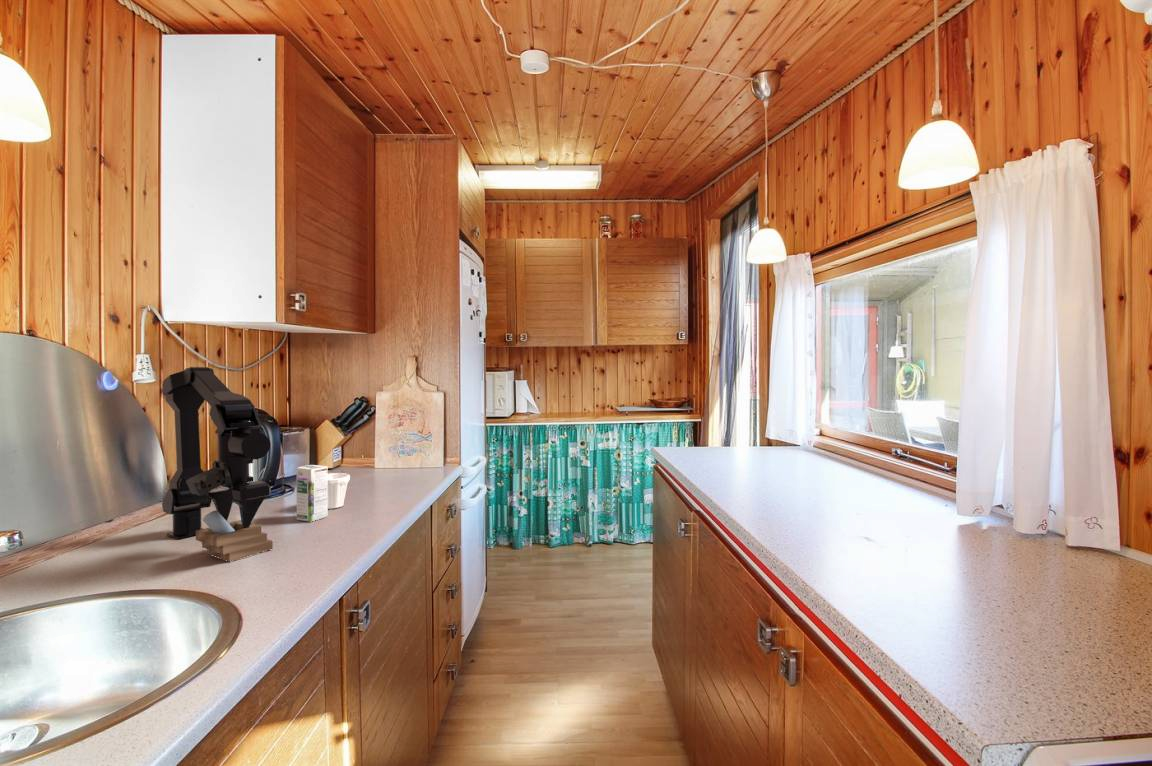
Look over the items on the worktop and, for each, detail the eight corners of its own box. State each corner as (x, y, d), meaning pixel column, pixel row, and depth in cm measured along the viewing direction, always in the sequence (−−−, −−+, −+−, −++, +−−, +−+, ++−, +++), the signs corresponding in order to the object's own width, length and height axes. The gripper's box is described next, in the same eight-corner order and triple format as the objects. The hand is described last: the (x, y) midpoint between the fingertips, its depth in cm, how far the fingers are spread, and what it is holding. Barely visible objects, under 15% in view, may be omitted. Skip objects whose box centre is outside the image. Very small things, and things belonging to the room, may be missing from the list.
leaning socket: (196, 558, 111) (195, 530, 111) (251, 542, 121) (250, 517, 121) (217, 566, 107) (216, 537, 107) (272, 549, 117) (272, 523, 117)
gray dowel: (229, 550, 114) (200, 519, 109) (241, 539, 116) (213, 509, 111) (235, 553, 113) (206, 522, 108) (247, 542, 115) (220, 512, 110)
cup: (340, 511, 148) (340, 480, 148) (306, 511, 148) (306, 479, 148) (356, 502, 158) (355, 473, 158) (323, 502, 158) (323, 472, 158)
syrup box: (295, 520, 140) (294, 467, 139) (314, 514, 145) (313, 463, 145) (310, 522, 138) (310, 468, 137) (329, 516, 143) (328, 465, 143)
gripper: (170, 456, 111) (172, 527, 112) (214, 464, 102) (215, 542, 102) (226, 449, 121) (227, 515, 121) (271, 456, 112) (272, 527, 112)
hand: (234, 524), depth 114 cm, fingers open, 9 cm apart
